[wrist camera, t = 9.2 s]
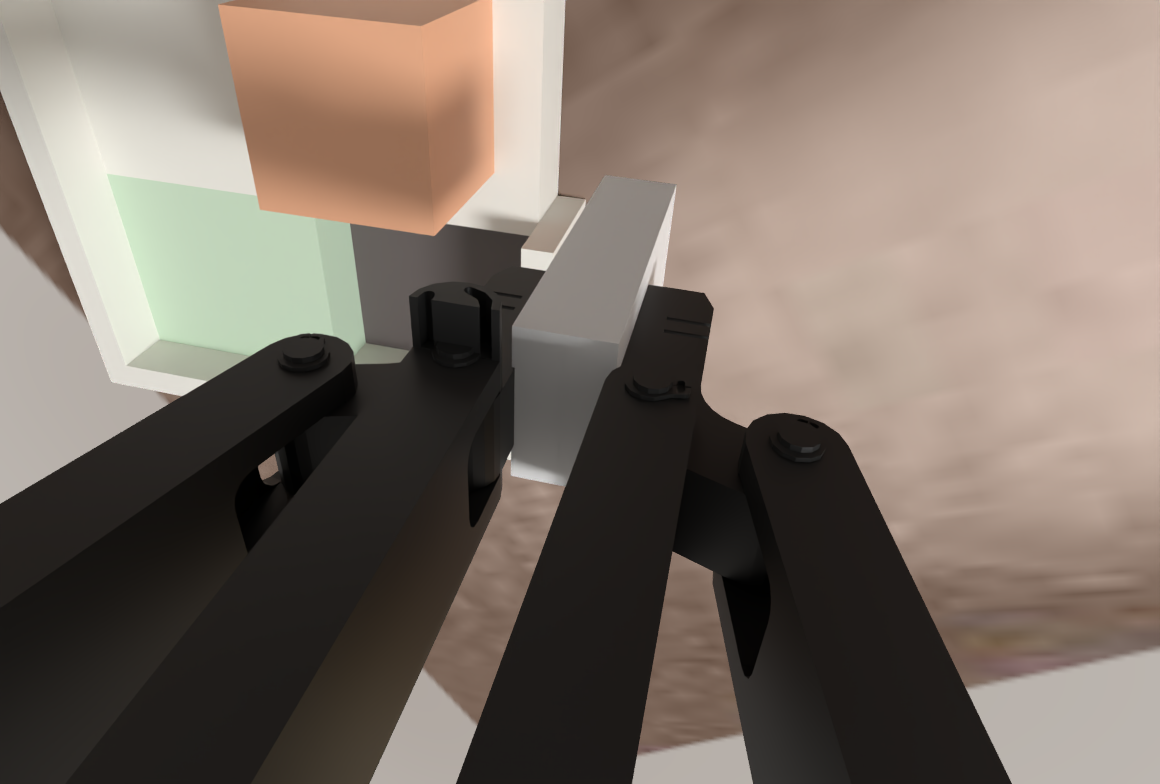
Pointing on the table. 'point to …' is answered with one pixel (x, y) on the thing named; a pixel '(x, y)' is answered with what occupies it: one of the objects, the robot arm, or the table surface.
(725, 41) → the table surface
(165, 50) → the box
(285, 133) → the block
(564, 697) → the robot arm
